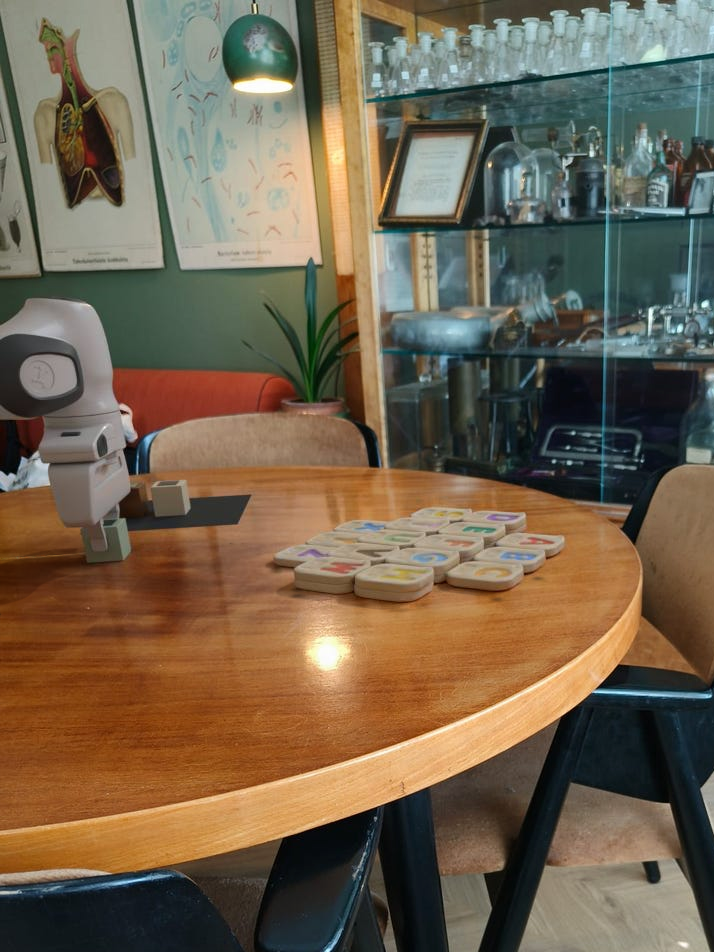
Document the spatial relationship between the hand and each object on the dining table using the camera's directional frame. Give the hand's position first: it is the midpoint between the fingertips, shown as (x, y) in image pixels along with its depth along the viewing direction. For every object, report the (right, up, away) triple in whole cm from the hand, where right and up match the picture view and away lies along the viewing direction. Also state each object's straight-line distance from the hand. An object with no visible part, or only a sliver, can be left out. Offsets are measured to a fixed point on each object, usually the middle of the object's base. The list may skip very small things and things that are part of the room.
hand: (107, 544), depth 114 cm
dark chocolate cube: (-5, +7, +21) cm, 22 cm away
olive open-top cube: (0, -2, +1) cm, 2 cm away
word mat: (+1, +7, +21) cm, 22 cm away
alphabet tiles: (+41, -2, -3) cm, 41 cm away
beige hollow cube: (+1, +7, +21) cm, 22 cm away
